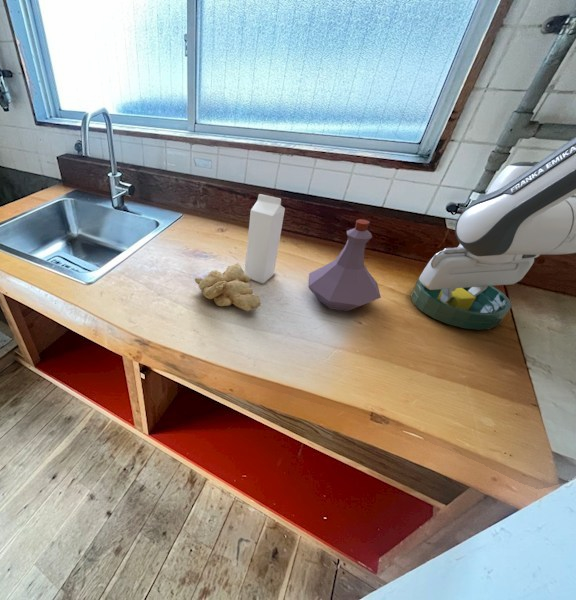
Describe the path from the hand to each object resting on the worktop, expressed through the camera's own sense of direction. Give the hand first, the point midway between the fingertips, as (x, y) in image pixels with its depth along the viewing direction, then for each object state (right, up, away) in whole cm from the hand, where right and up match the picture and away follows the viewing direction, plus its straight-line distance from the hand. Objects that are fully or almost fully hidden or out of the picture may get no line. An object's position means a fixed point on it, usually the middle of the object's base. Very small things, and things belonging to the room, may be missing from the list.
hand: (456, 300), depth 73 cm
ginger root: (-51, +1, +8) cm, 52 cm away
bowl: (0, -2, +1) cm, 2 cm away
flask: (-24, 0, +5) cm, 25 cm away
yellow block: (0, -1, +1) cm, 1 cm away
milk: (-41, +7, +15) cm, 44 cm away
